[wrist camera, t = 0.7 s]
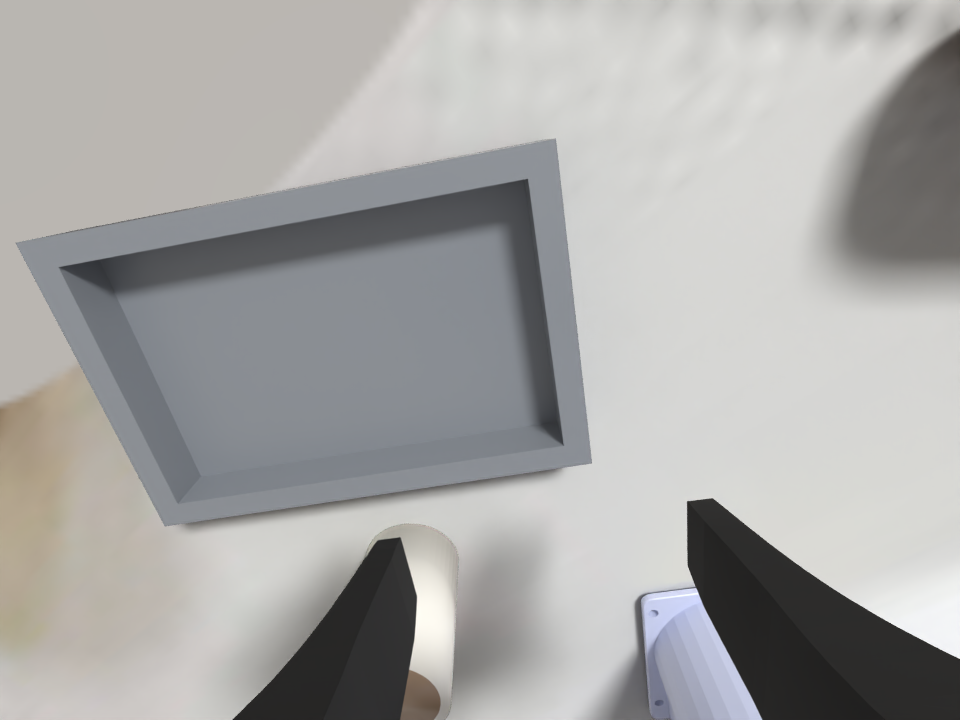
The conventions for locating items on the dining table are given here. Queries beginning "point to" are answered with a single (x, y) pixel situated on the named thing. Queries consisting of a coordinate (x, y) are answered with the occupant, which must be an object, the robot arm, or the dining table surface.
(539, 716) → the dining table surface
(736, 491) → the dining table surface
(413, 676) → the cup
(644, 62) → the dining table surface
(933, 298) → the dining table surface
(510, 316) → the tray
